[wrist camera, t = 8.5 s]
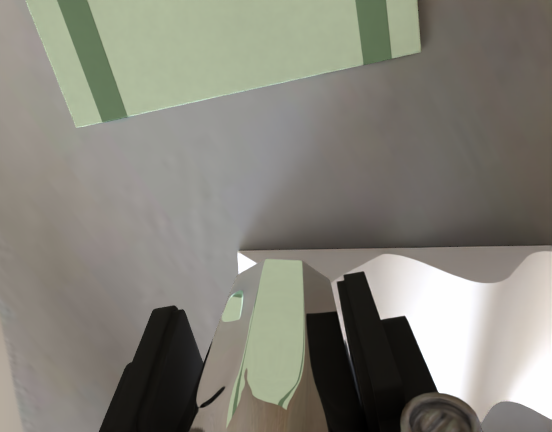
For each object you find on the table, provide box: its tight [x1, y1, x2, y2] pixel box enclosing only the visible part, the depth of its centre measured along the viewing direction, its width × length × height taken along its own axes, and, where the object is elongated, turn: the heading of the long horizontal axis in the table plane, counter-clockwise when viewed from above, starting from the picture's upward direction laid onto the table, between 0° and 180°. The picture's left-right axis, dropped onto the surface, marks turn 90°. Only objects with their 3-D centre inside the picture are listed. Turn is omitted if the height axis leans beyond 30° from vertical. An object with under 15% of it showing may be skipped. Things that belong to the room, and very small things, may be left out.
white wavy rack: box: [237, 245, 552, 424], centre depth 31 cm, size 13×35×5 cm, turn 91°
